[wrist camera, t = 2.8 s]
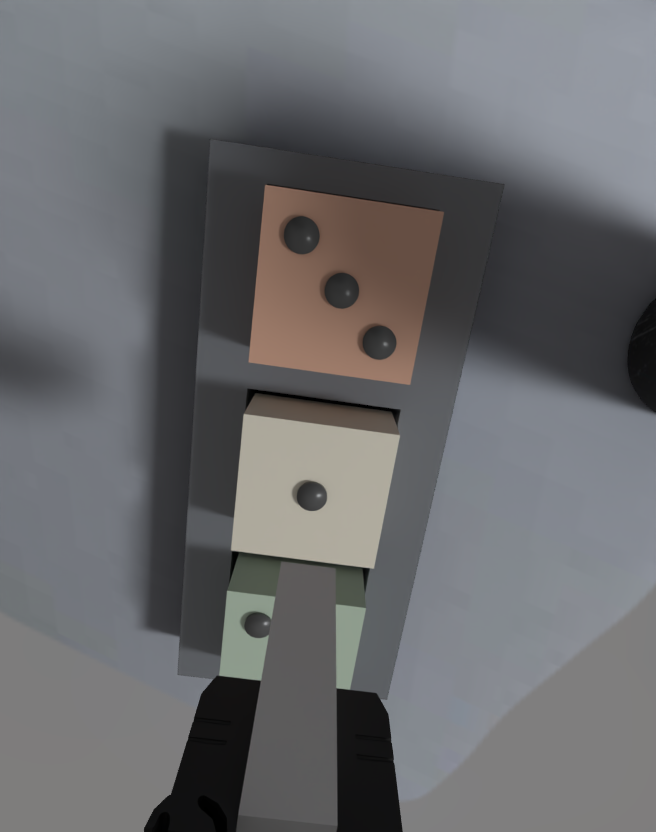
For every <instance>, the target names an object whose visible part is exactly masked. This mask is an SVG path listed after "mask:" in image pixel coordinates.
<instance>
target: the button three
mask: <svg viewBox="0 0 656 832" xmlns="http://www.w3.org/2000/svg"><path fill="white" fill-rule="evenodd" d="M443 216H444V212H441V211H435V210H428V209H422V208H415V207H409V206H402V205H395V204H389V203H382V202H376V201H369V200H363V199H356V198H349V197H343V196H336V195H330V194H323V193H316V192H310V191H303V190H297V189H290V188H284V187H277V186H270V185H265V191H264V202H263V213H262V223H261V234H260V245H259V255H258V266H257V277H256V287H255V298H254V309H253V320H252V330H251V341H250V352H249V362H250V363H257V364H264V365H271V366H278V367H285V368H292V369H300V370H307V371H314V372H321V373H328V374H335V375H342V376H350V377H357V378H364V379H371V380H378V381H385V382H392V383H400V384H407V385H410V383H411V378H412V373H413V368H414V363H415V358H416V353H417V347H418V342H419V337H420V332H421V327H422V322H423V317H424V312H425V307H426V302H427V297H428V292H429V287H430V282H431V276H432V271H433V266H434V261H435V256H436V251H437V246H438V241H439V236H440V231H441V226H442V221H443Z"/></svg>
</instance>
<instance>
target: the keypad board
mask: <svg viewBox="0 0 656 832" xmlns="http://www.w3.org/2000/svg"><path fill="white" fill-rule="evenodd" d="M265 185H270V186H277V187H284V188H290V189H297V190H303V191H310V192H316V193H323V194H330V195H336V196H343V197H349V198H356V199H363V200H369V201H376V202H382V203H389V204H395V205H402V206H409V207H415V208H422V209H428V210H435V211H441V212H444V216H443V221H442V226H441V231H440V236H439V241H438V246H437V251H436V256H435V261H434V266H433V271H432V276H431V282H430V287H429V292H428V297H427V302H426V307H425V312H424V317H423V322H422V327H421V332H420V337H419V342H418V347H417V353H416V358H415V363H414V368H413V373H412V378H411V383H410V385H407V384H400V383H392V382H385V381H378V380H371V379H364V378H357V377H350V376H342V375H335V374H328V373H321V372H314V371H307V370H300V369H292V368H285V367H278V366H271V365H264V364H257V363H250V362H249V352H250V341H251V330H252V320H253V309H254V298H255V287H256V277H257V266H258V255H259V245H260V234H261V223H262V213H263V202H264V191H265ZM503 189H504V184H499V183H493V182H486V181H480V180H473V179H467V178H460V177H454V176H447V175H441V174H434V173H428V172H421V171H415V170H408V169H402V168H395V167H389V166H382V165H376V164H369V163H363V162H356V161H350V160H344V159H337V158H331V157H324V156H318V155H311V154H305V153H298V152H292V151H285V150H279V149H272V148H266V147H259V146H253V145H246V144H240V143H233V142H227V141H220V140H214V139H210V149H209V166H208V182H207V198H206V215H205V231H204V248H203V264H202V281H201V297H200V314H199V330H198V346H197V363H196V379H195V396H194V412H193V429H192V445H191V461H190V478H189V494H188V511H187V527H186V544H185V560H184V577H183V593H182V609H181V626H180V642H179V659H178V675H183V676H191V677H199V678H208V679H214V678H215V677H216V676H217V675H218V676H219V673H220V662H221V652H222V641H223V630H224V620H225V609H226V598H227V590H228V587H229V583H230V580H231V577H232V574H233V571H234V568H235V564H236V561H237V558H238V552H239V551H231V545H232V534H233V523H234V512H235V502H236V491H237V480H238V470H239V459H240V448H241V437H242V427H243V416H244V413H245V411H246V409H247V407H248V405H249V404H250V402H251V400H252V398H253V396H254V390H255V389H256V390H263V391H270V392H277V393H285V394H292V395H299V396H306V397H313V398H321V399H328V400H335V401H342V402H350V403H357V404H364V405H371V406H379V407H386V408H392V409H391V412H392V414H393V417H394V420H395V423H396V425H397V428H398V431H399V433H400V439H399V444H398V449H397V454H396V459H395V464H394V469H393V474H392V479H391V484H390V489H389V495H388V500H387V505H386V510H385V515H384V520H383V525H382V530H381V535H380V540H379V545H378V550H377V555H376V560H375V566H374V569H372V568H365V567H362V569H363V580H364V591H365V602H366V611H365V616H364V621H363V626H362V631H361V637H360V642H359V647H358V652H357V657H356V662H355V667H354V672H353V677H352V682H351V687H350V690H356V691H364V692H373V693H377V695H378V696H379V698H380V699H385V700H387V697H388V693H389V689H390V684H391V680H392V675H393V671H394V667H395V662H396V658H397V653H398V649H399V645H400V640H401V636H402V632H403V627H404V623H405V618H406V614H407V610H408V605H409V601H410V596H411V592H412V588H413V583H414V579H415V575H416V570H417V566H418V561H419V557H420V553H421V548H422V544H423V539H424V535H425V531H426V526H427V522H428V518H429V513H430V509H431V504H432V500H433V496H434V491H435V487H436V482H437V478H438V474H439V469H440V465H441V461H442V456H443V452H444V447H445V443H446V439H447V434H448V430H449V425H450V421H451V417H452V412H453V408H454V403H455V399H456V395H457V390H458V386H459V382H460V377H461V373H462V368H463V364H464V360H465V355H466V351H467V346H468V342H469V338H470V333H471V329H472V325H473V320H474V316H475V311H476V307H477V303H478V298H479V294H480V289H481V285H482V281H483V276H484V272H485V268H486V263H487V259H488V254H489V250H490V246H491V241H492V237H493V232H494V228H495V224H496V219H497V215H498V211H499V206H500V202H501V197H502V193H503ZM245 553H247V552H245ZM253 554H255V553H253ZM261 555H263V554H261ZM269 556H270V555H269ZM276 557H278V556H276ZM284 558H286V557H284ZM292 559H294V558H292ZM300 560H302V559H300ZM308 561H310V560H308ZM316 562H317V561H316ZM323 563H325V562H323ZM331 564H333V563H331ZM339 565H341V564H339ZM347 566H349V565H347ZM355 567H357V566H355Z"/></svg>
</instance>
